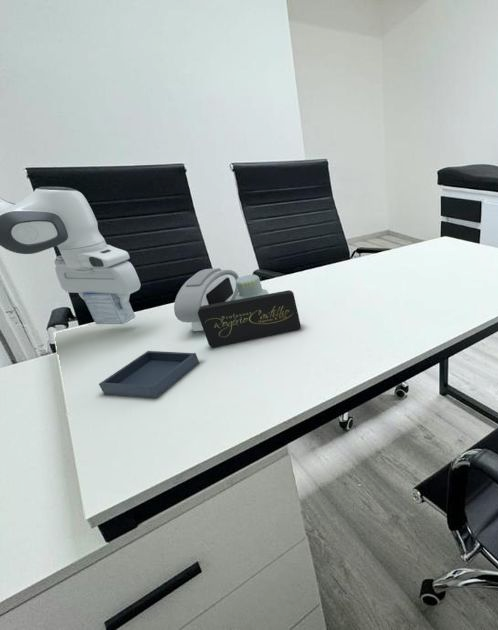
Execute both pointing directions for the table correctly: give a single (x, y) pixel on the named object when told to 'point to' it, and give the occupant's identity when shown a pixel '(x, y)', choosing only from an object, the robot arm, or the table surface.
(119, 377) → the tray
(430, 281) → the table surface
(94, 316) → the medicine box
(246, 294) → the air freshener
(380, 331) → the table surface
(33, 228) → the robot arm
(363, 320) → the table surface
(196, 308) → the alarm clock
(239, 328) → the nameplate
